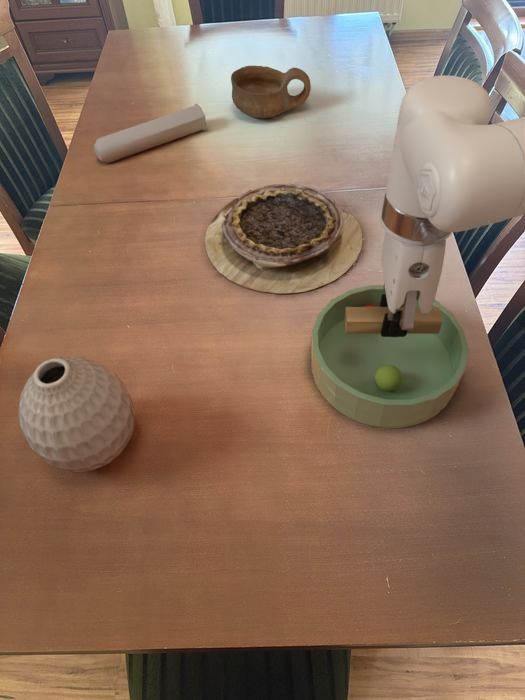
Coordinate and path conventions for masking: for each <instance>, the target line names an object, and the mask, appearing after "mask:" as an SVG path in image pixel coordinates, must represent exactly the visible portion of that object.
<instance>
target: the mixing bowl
mask: <svg viewBox="0 0 525 700" xmlns="http://www.w3.org/2000/svg"><path fill="white" fill-rule="evenodd" d="M382 294H386V293H384V284H379V285H377V284H376V285H375V284H372V285H371V284H369V285H365V286H362V287H357V288H353V289H349V290H347V291H345V292H344V293H341V294H340V295H338V296H336V297H334V298H332V299H331V300H330V301H329V302H328V303H327V304H326V306H325V307H324V308H323V309H322V310H321V311H320V312H319V313H318V314H317V317H316V320H315V323H314V325H313V327H312V332H311V349H310V359H311V363H310V366H311V367H310V368H311V373H312V377H313V381H314V383H315V386H316V388H317V389H318V391H319V393H320V394H321V396H322V397H323V398H324V399H325V400H326V401H327V403H329V405H330V406H331V407H333V408H334V409H335V410H336V411H338V412H339V413H340V414H342V415H344V416H345V417H347V418H349V419H351V420H353V421H355V422H357V423H359V424H360V423H361V424H364V425H366V426H370V427H375V428H380V429H403V428H408V427H412V426H416V425H420V424H422V423H424V422H426V421H429V420H431V419H432V418H434V417H435V416H437V415H438V414H439V413H440V412H442V410H444V408H446V406H447V405H448V404H449V402H450V401H451V399H452V397H453V396H454V394H455V393H456V391H457V389H458V387H459V385H460V382H461V380H462V378H463V376H464V374H465V372H466V369H467V366H468V358H469V353H470V347H469V343H468V341H467V337H466V333H465V329H464V328H463V326H462V325H461V324H460V322H459V321H458V320H457V318H456V317H455V315H454V313H452V312H451V311H450V310H449V309H447V307H445V306H444V305H442V304H441V302H439V301H437V300H436V299H435V300H434V304H433V307H440V310H441V314H442V319H443V323H442V326H441V328H440V331H439V334H406V336H405V337H382V336H381V334H345V323H344V317H345V310H346V307H364V306H367V305H373V306H376V307H379V306H380V301H381V297H382ZM416 307H419V304H418V301H417V302H416ZM384 365H393V366H395V367H397V368H398V369H399V370H400V372H401V374H402V383H401V385H400V386H399V387H398V388H397V389H396V390H394V391H384V390H382V389H380V388H379V387H378V386H377V384H376V382H375V374H376V372H377V370H378V369H379V368H380V367H382V366H384Z"/></svg>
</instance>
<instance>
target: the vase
mask: <svg viewBox="0 0 525 700" xmlns="http://www.w3.org/2000/svg"><path fill="white" fill-rule="evenodd" d="M21 390H22V391H21V393H20V397H19V402H18V420H19V426H20V430H21V434H22V436H23V438H24V439H25V442H26V443H27V444H28V446H29V447H30V449H31V450H32V451H33V452H34V453H35V454H36V455H37V456H38V457H39V458H40V459H41V460H43V461H44V462H45V463H47V464H48V465H50V466H53V467H54V468H58V469H60V470H63V471H67V472H76V473H77V472H79V473H83V472H91V471H94V470H98V469H100V468H103V467H105V466H107V465H108V464H110V463H112V462H113V461H115V460H116V459H117V458H118V457H119V456H120V455H121V454H122V453H123V451H124V450H125V449H126V447H127V446H128V445H129V442H130V440H131V437H132V435H133V433H134V428H135V406H134V402H133V400H132V396H131V393H130V391H129V389H128V388H127V386H126V384H125V383H124V381H123V380H122V379H121V378H120V376H118V374H117V373H115V372H114V371H113V370H112V369H110V368H109V367H108V366H107V365H104V364H102V363H100V362H98V361H96V360H94V359H90V358H87V357H82V356H63V357H52V358H49V359H47V360H44V361H43V362H41V363H40V364H39V365H37V367H36V368H35V370H34V372H33V373H32V374H31V375H30V376H29V377H28V379H27V381H26V382H25V384H24V386H23V387H22V389H21Z"/></svg>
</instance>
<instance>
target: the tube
mask: <svg viewBox="0 0 525 700" xmlns="http://www.w3.org/2000/svg"><path fill="white" fill-rule="evenodd" d="M206 129H207V119H206V115H205V113H204V111H203V109H202V107H201V106H200V105H199V104H198V103H194V105H192V106H189V107H186V108H184V109H181V110H180V109H179V110H178V111H174V112H171V113H169V114H165V115H162V116H160V117H157V118H154V119H151V120H148V121H145V122H143V123H139V124H137V125H134V126H131V127H128V128H125V129H121V130H119V131H116V132H113V133H110V134H107V135H105V136H101V137H98V138H97V140H96V141H95V143H94V145H93V149H94V153H95V155H96V157H97V158H98V160H100V161H101V162H103V163H106V164H111V163H113V162H115V161H119V160H122V159H125V158H127V157H130V156H133V155H135V154H140V153H141V152H144V151H147V150H149V149H152V148H155V147H158V146H161V145H164V144H166V143H170V142H172V141H176V140H178V139H181V138H183V137H186V136H189V135H192V134H195V133H197V132H198V133H199V132H200V131H203V132H204V131H206Z"/></svg>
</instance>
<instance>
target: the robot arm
mask: <svg viewBox="0 0 525 700" xmlns="http://www.w3.org/2000/svg"><path fill="white" fill-rule="evenodd" d="M398 111H399V112H398V118H397V123H396V124H397V125H396V128H395V129H396V130H395V136H394V140H393V145H392V146H393V147H392V151H391V152H392V153H391V158H390V164H389V169H388V176H387V182H386V187H385V192H384V197H383V198H384V199H383V204H382V210H381V213H380V214H381V215H380V224H381V227H382V228H383V230H384V237H383V241H382V247H381V259H380V260H381V270H382V276H383V285H384V293H386V294H382V297H381V301H380V306H379V307H388V308H389V309H388V313H385V315H384V320H383V324H382V328H381V336H382V337H405V336H406V334H407V331H408V330H413V327H414V319H415V311H416V302H417V301H418V304H419V307H420V310H421V313H422V314H428V313H429V312H430V311H431V310H432V307H433V304H434V300H436V295H437V293H438V292H437V291H438V288H439V284H440V279H441V276H442V272H443V267H444V261H445V255H446V245H447V239H448V238H449V237H450V236H451V235H452V234H453V233H459V232H465V231H469V230H473V229H478V228H481V227H484V226H488V225H492V224H497V223H500V222H503V221H507V220H509V219H514V218H517V217H521V216H525V116H521V117H517V118H513V119H509V120H505V121H499V122H496V123H492V124H489V121H490V118H491V113H492V101H491V97H490V95H489V93H488V91H487V90H486V89H485V88H484V86H482V85H481V84H480V83H478V82H476V81H474V80H473V79H470V78H466V77H462V76H457V75H448V74H447V75H445V74H444V75H443V74H442V75H432V76H428V77H425V78H422V79H421V80H418V81H416V82H415V83H414V84H412V85H411V86H410V87H409V88H408V89H407V91H405V94H404V95H403V98H402V100H401V103H400V106H399V110H398ZM400 307H402V310H397V309H399V308H400Z"/></svg>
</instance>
